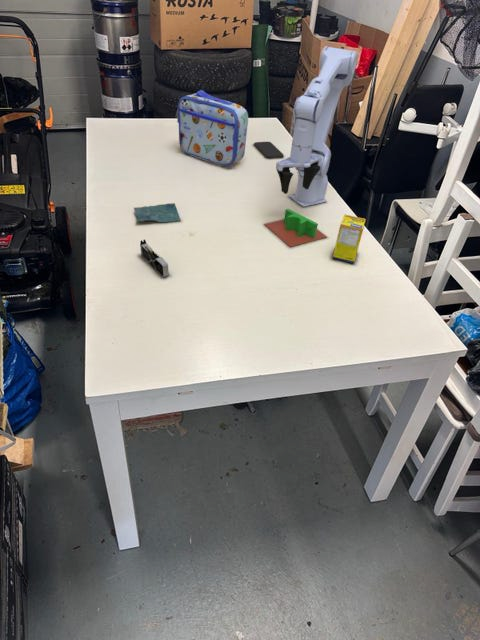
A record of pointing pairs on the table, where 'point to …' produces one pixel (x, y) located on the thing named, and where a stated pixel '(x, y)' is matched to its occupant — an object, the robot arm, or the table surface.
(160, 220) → the terrain model
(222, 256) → the table surface
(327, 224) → the table surface
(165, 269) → the graphics card
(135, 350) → the table surface
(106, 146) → the table surface
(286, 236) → the napkin
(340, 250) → the supplement box
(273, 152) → the phone
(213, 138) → the lunch box
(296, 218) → the pipe clamp
